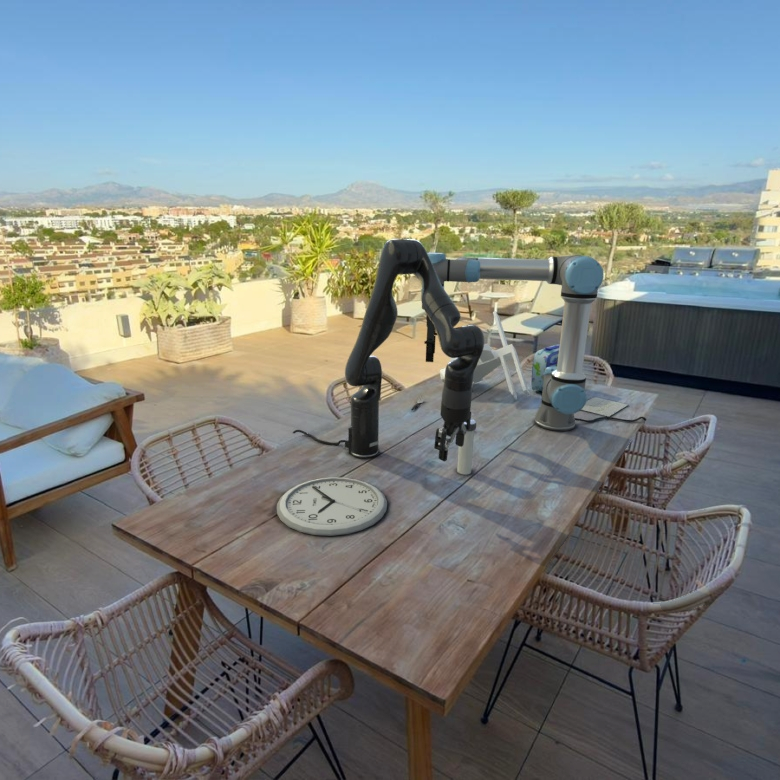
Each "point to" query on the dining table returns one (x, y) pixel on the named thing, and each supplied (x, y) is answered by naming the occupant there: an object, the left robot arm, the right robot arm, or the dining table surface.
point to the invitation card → (603, 406)
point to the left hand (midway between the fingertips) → (451, 452)
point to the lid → (471, 425)
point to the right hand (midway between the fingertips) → (430, 357)
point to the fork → (418, 402)
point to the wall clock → (331, 506)
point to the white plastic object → (497, 361)
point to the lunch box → (543, 365)
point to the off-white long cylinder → (466, 454)
